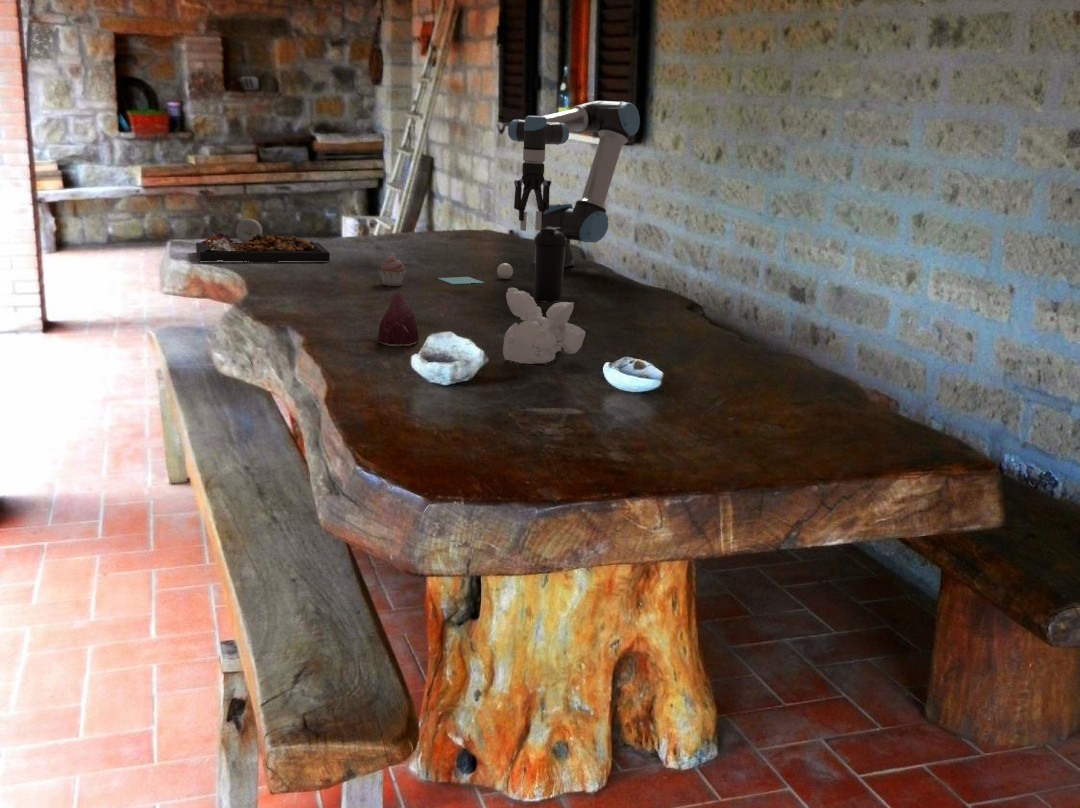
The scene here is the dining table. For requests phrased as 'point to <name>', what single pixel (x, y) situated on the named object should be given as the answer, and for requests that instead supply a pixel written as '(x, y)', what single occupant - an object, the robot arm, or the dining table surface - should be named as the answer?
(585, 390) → the dining table surface
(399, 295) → the vegetable
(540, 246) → the water bottle
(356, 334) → the dining table surface
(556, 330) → the grey lumpy lobed block
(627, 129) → the robot arm
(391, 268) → the cupcake
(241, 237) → the donut
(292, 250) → the food platter
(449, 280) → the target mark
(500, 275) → the ball
